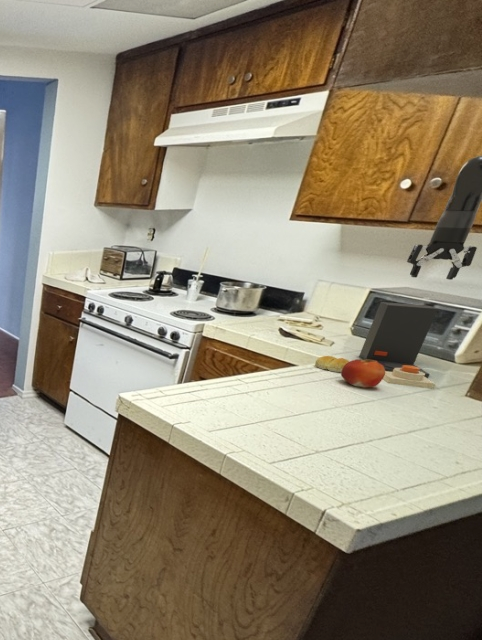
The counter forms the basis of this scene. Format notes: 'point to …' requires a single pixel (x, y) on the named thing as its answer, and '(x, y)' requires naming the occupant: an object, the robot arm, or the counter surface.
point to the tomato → (363, 373)
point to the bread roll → (331, 363)
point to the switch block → (408, 378)
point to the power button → (410, 369)
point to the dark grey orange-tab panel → (398, 334)
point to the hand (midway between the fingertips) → (431, 278)
